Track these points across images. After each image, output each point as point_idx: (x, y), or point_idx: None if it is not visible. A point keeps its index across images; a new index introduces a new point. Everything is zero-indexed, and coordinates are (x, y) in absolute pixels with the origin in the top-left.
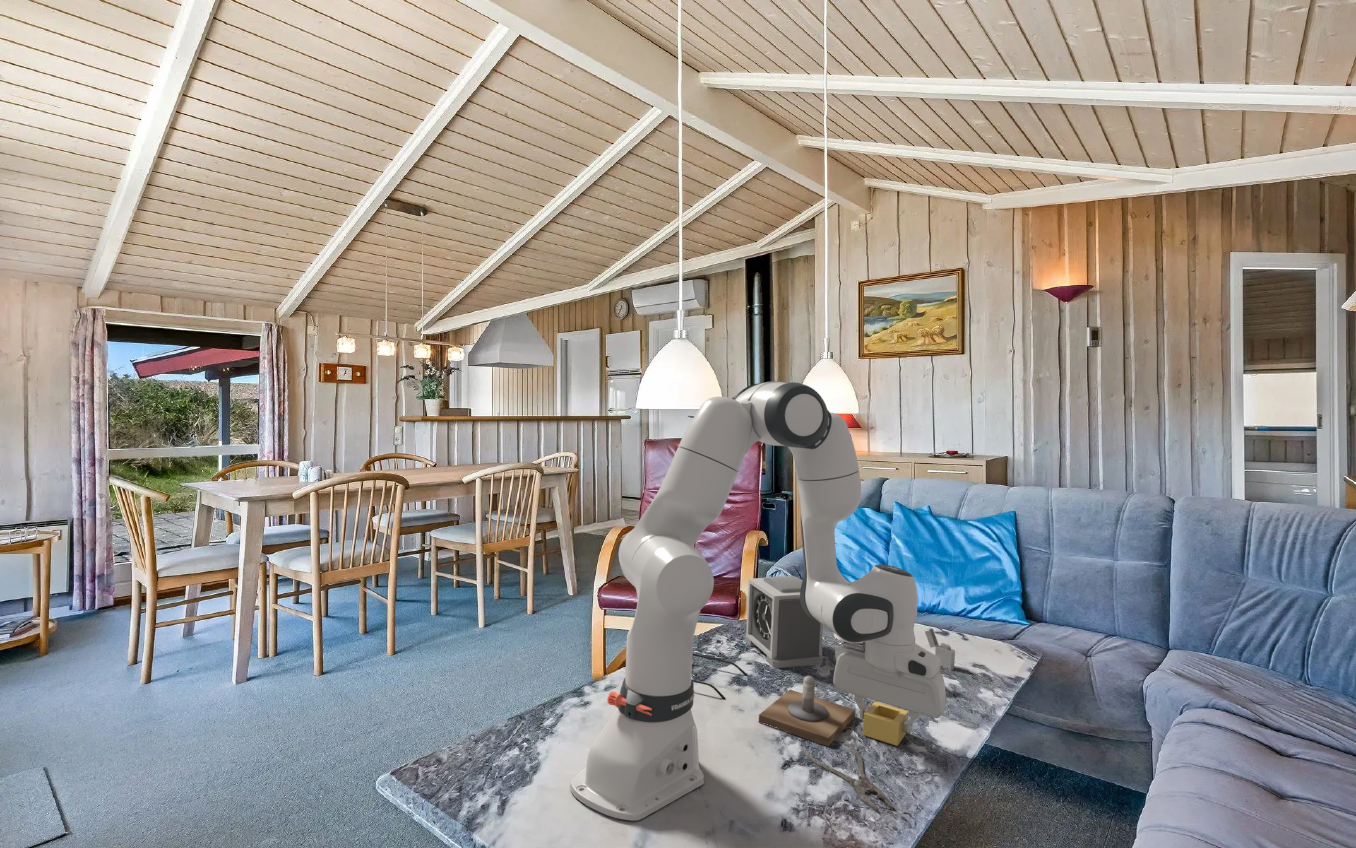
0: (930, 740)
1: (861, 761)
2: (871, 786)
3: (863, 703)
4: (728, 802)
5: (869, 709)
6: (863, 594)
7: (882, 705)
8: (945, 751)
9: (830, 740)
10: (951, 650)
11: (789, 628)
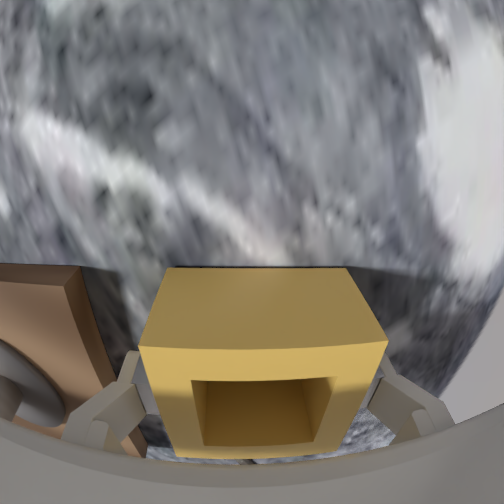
0: (432, 264)
1: (245, 464)
2: None
3: (119, 413)
4: None
5: (173, 429)
6: None
7: (209, 369)
8: (463, 304)
9: (143, 446)
10: None
11: None
